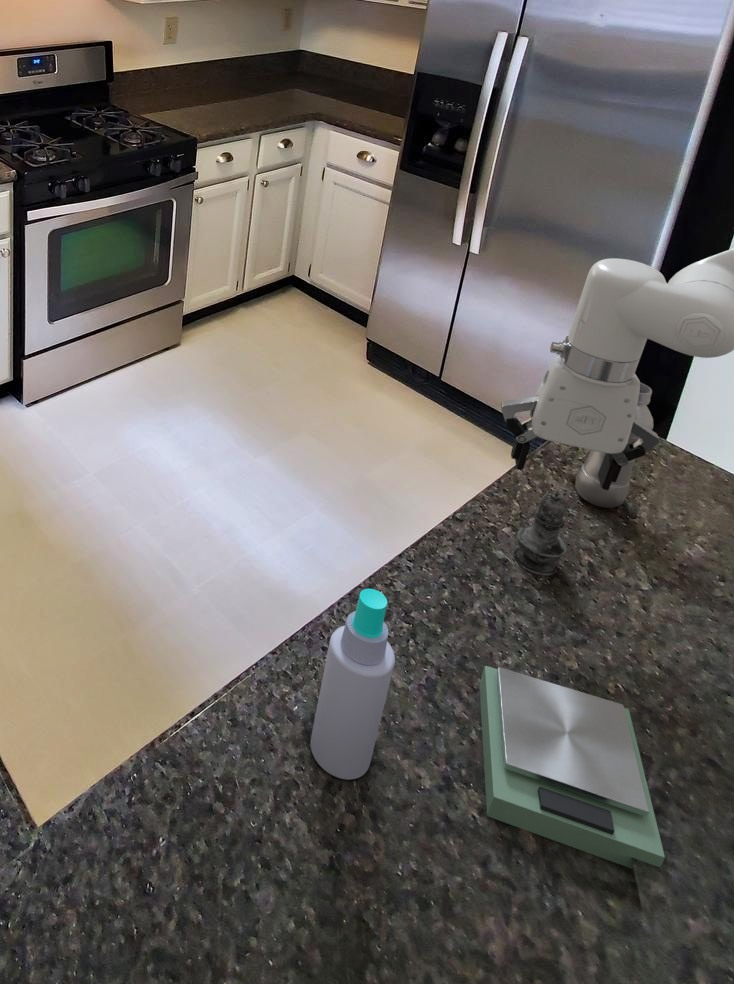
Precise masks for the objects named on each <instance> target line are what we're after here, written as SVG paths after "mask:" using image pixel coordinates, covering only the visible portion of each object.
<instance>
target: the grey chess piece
mask: <svg viewBox="0 0 734 984" xmlns="http://www.w3.org/2000/svg"><path fill="white" fill-rule="evenodd" d="M567 506H568V505H567V501H566V500H565V499H564V497H562V496H561V493H560V492H559V491H558V490H556V491H554V492H553V493H551V492H550V493H546V494H544V495H543V496H542V497H541V500H540V503H539V506H538V509H537V510H535V511H533V515H532V516H533V519H534V520H533V523H532V525H526V526H522V527H520V528H519V529H518V530H517V533H516V536H517V539H518V546H519V547H517V548H516V549H514V552H513V558H514V560H515V562H516V563H517V564H518V565H519V566H520V567H521V568H523V570H525V571H527V572H529V573H531V574H534V575H538V576H544V577H548V576H553V575H555V574H556V573H557V571H558V563H557V561H558V560H559V559H561V558H562V557H563V556H564V555H566V553H567V545H566V543H565V541H564V539H562V538H561V537H560V536H559V532H560V530H561V529H562V528H564V527H565V521H564V516H565V512H566V510H567Z"/></svg>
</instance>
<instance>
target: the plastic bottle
mask: <svg viewBox="0 0 734 984" xmlns="http://www.w3.org/2000/svg"><path fill="white" fill-rule="evenodd" d="M652 394H653V390H652V388H651V387H650V386H648V385H646V384H645V383H643V382H640V391H639V398H638V403H637V409H636V413H635V417H634V419H636V420H637V421H639V422H640V423H642V424H643V425H645V426H646V427H648V428H649V429H651V430H652V431H653V429H654V418H653V416H652V413H651V411H650V409H649V407H648V405H649V404H650V402H651V397H652ZM639 438H640V437H638V436H637V435H635V434H634V433H632V432H631V433H630V436H629V439H628V442H627V444H629V443H631V442H634V441H638V439H639ZM605 454H606V453H602V452H597V451H592V450H589V453H588V455H587V456H586V459H585V460H584V463H583V464H582V466H581V467H580V468H579V470H578V472H577V473H576V475H575V485H574V487H575V489H576V492H577V494H578V495H579V496H580V497H581V498H582V499H583V500H585V502H587V503H590V504H592V505H594V506H597V507H599V508H605V509H612V508H616V507H619V506H621V505H622V504H624V502H625V500H626V499H627V498H628V495H629V491H630V479H631V477H632V472H633V468H634V464H635V461H636V459H637V458H636V459H634V460H631V461H628V464H627V465H625V466H622V468H621V470H620V473H619V475H618V478H617V481H616V482H611V485H610V488H609V490H604V489H603V488H601V485H600V481H599V478H598V472H599V470H600V467H601V464H602V462H603V459H604V456H605Z"/></svg>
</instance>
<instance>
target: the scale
mask: <svg viewBox="0 0 734 984" xmlns="http://www.w3.org/2000/svg"><path fill="white" fill-rule="evenodd" d="M497 669H498V668H495V667H491V666H488V665H484V667H483V670H482V674H481V677H480V680H479V684H478V687H479V702H480V703H479V704H480V717H481V722H480V723H481V735H482V736H481V738H482V754H483V770H484V771H483V772H484V773H483V774H484V789H485V805H486V807H485V808H486V816H487V817H488V818H491V819H494V820H497V821H499V822H502V823H505V824H508V825H510V826H513V827H516V828H519V829H521V830H523V831H526V832H529V833H532V834H535V835H537V836H540V837H544V838H546V839H549V840H551V841H554V842H557V843H560V844H563V845H566V846H568V847H570V848H573V849H576V850H579V851H582V852H584V853H587V854H590V855H592V856H595V857H598V858H601V859H604V860H606V861H609V862H612V863H614V864H617V865H619V866H622V867H625V868H628V869H630V870H635V866H634V862H633V859H635V860H638V861H640V862H644V863H647V864H649V865H652V866H654V867H658V868H661V866H662V865H663V863H664V861H665V859H666V855H665V851H664V848H663V843H662V840H661V835H660V832H659V827H658V824H657V823H658V822H657V818H656V815H655V811H654V810H655V809H654V807H653V803H652V799H651V794H650V790H649V787H648V781H647V779H646V778H647V777H646V774H645V770H644V766H643V762H642V758H641V753H640V749H639V745H638V741H637V737H636V734H635V730H634V729H635V728H634V725H633V720H632V717H631V713H630V709H629V708H626V707H624V709H625V713H626V717H627V721H628V726H629V730H630V734H631V738H632V742H633V747H634V751H635V755H636V759H637V763H638V767H639V772H640V776H641V780H642V784H643V788H644V792H645V797H646V801H647V805H648V809H649V813H648V815H647V817H645V816H642V815H639V814H636V813H633V812H630V811H628V810H625V809H622V808H619V807H616V806H613V805H610V804H607V803H604V802H601V801H598V800H595V799H593V798H590V797H587V796H584V795H581V794H578V793H575V792H572V791H569V790H566V789H563V788H560V787H558V786H555V785H552V784H549V783H546V782H543V781H540V780H537V779H534V778H531V777H528V776H525V775H523V774H520V773H517V772H514V771H511V770H508V769H505V768H504V756H503V744H502V732H501V719H500V707H499V695H498V683H497Z"/></svg>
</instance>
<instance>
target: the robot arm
mask: <svg viewBox="0 0 734 984" xmlns="http://www.w3.org/2000/svg"><path fill="white" fill-rule="evenodd" d="M648 340H650V341H653V342H655V343H657V344H659V345H661V346H664V347H666V348H668V349H671V350H673V351H676V352H678V353H681V354H684V355H687V356H691V357H695V358H702V359H704V358H705V359H711V358H719V357H722V356H725V355H727V354H730V353H732V352H733V351H734V247H732V248H730V249H728V250H725V251H722V252H719V253H717V254H714V255H710V256H708V257H706V258H703V259H700V260H699V261H695V262H693V263H691V264H689V265H687V266H686V267H683V268H682V269H680V270H679V271H677V272H676V273H675V274H674V275H672V277H671V278H670V279H669V280H668V282H667V281H666V278H665V276H664V275H663V273H661V272H660V271H659V270H658V269H656V268H655V267H653V266H650V265H648V264H646V263H643V262H641V261H636V260H632V259H626V258H615V257H614V258H612V257H611V258H604V259H601V260H598V261H597V262H595V263H594V264H593V265H591V268H590V269H589V271H588V273H587V276H586V280H585V282H584V285H583V289H582V291H581V294H580V297H579V301H578V305H577V308H576V309H575V313H574V317H573V320H572V323H571V326H570V329H569V333H568V335H566V336H565V339H564V340H563V341H562V342H561V341H559V342H555V341H552V342H551V344H550V346H549V347H550V348H549V352H550V353H551V354H556V355H557V356H555V358H554V359H553V361H552V362H551V364H550V365H549V367H548V368H547V370H546V371H545V374H544V376H543V377H542V380H541V382H540V384H539V387H538V389H537V391H536V393H535V395H533V396H527V397H522V398H514V399H509V400H503V401H501V402H500V409H501V413H502V416H503V418H504V419H503V420H504V421H505V424H506V427H507V429H509V431H510V432H511V433H512V434H513V436H514V437H515V438H514V441H513V444H512V448H511V452H510V457H511V458H510V459H512V460H514V461H515V462H514V463H515V469H516V470H520V471H522V470H524V468H525V465H526V462H527V459H528V456H529V452H530V449H531V443H530V441H532V440H534V439H536V438H540V439H542V440H544V441H548V442H553V443H557V444H561V445H566V446H570V447H575V448H579V449H584V450H588V451H591V450H592V451H597V452H602V453H606V454H605V456H604V459H603V462H602V464H601V467H600V470H599V472H598V478H599V481H600V485H601V488H603V489H604V490H609V488H610V485H611V482H616V481H617V478H618V475H619V473H620V470H621V468H622V466H625V465H627V464H628V461H631V460H634V459H639V458H641V457H644V456H645V455H646V453H647V452H649V451H650V450H652V449H653V448H654V447H656V446H658V445H659V444H660V442H661V441H660V440H661V439H660V438H659V436H658V433H657V432H655V431H654V430H653V429H652V430H651V429H649V428H648V427H646V426H645V425H643V424H642V423H640V422H639V421H637V420H636V419H634V417H635V413H636V409H637V403H638V398H639V391H640V383H641V381H640V379H639V378H638V376H637V374H636V371H637V368H638V365H639V363H640V360H641V357H642V354H643V351H644V349H645V346H646V343H647V341H648ZM529 411H530V412H529ZM522 412H529V418H527V419H525V420H523V421H522V422H521V421H520V420H519V419H518V417H517V416H516V414H517V413H522ZM631 432H632V433H634V434H635V435H637V436H638V437H640V438H639V439H638V441H634V442H631V443H629V444H627V442H628V439H629V436H630V433H631Z"/></svg>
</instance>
